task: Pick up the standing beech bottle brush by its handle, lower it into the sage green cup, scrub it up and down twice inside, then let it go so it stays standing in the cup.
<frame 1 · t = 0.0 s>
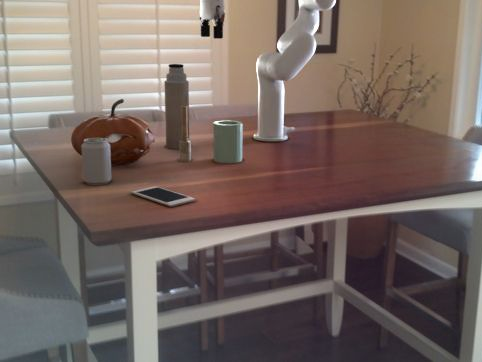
hand: (211, 37, 225), 37 cm above the table, tool pointing down, fingers open, 9 cm apart
cell phone: (162, 198, 170), on the table
can: (97, 183, 182), on the table
sage green cup: (227, 160, 212), on the table
brush: (185, 160, 211), on the table
pumpkin: (114, 161, 207), on the table
thermos bottle: (177, 146, 230), on the table
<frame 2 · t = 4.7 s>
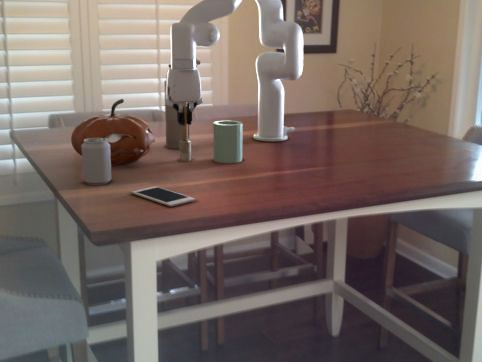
hand: (184, 123, 208), 12 cm above the table, tool pointing down, fingers closed on brush
brush: (185, 160, 211), on the table, touching gripper
everything else where it was.
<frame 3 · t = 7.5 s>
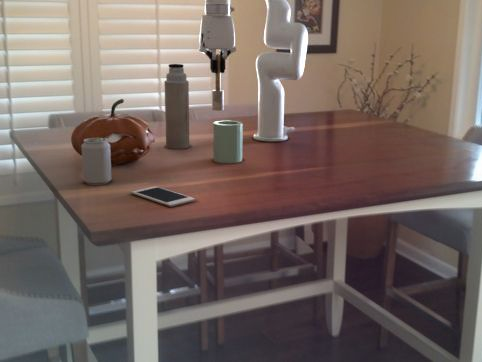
hand: (217, 72, 204), 28 cm above the table, tool pointing down, fingers closed on brush
brush: (218, 109, 207), point 16 cm above the table, touching gripper
everything else where it was.
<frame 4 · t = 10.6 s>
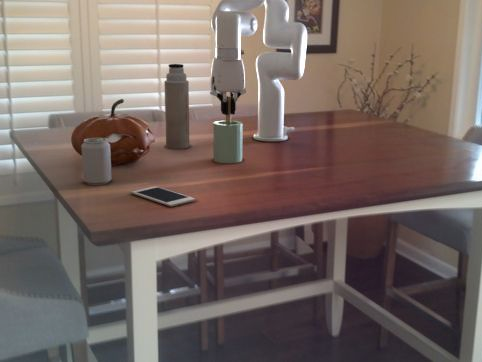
hand: (228, 113, 208), 15 cm above the table, tool pointing down, fingers closed on brush
brush: (228, 149, 211), point 3 cm above the table, touching gripper
everything else where it was.
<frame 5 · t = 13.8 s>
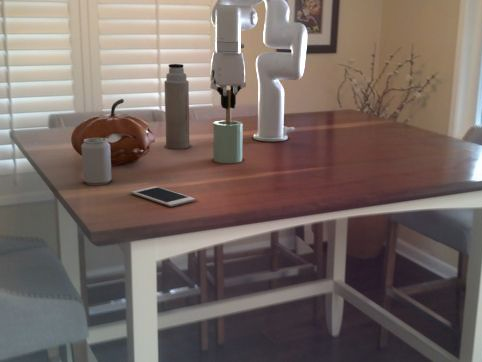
hand: (228, 107, 208), 17 cm above the table, tool pointing down, fingers closed on brush
brush: (228, 143, 211), point 5 cm above the table, touching gripper
everything else where it was.
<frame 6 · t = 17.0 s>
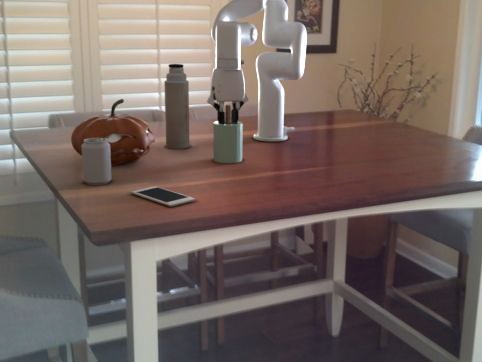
hand: (228, 122, 209), 12 cm above the table, tool pointing down, fingers open, 3 cm apart
brush: (227, 158, 212), point 1 cm above the table, touching sage green cup
everything else where it was.
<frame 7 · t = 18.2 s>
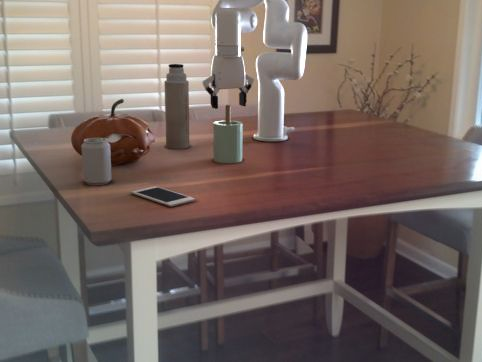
hand: (228, 106, 208), 17 cm above the table, tool pointing down, fingers open, 9 cm apart
nothing on the table moved.
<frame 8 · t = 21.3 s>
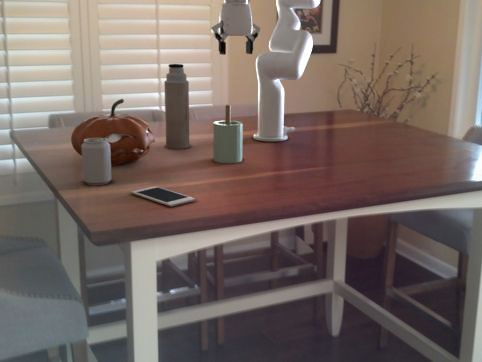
hand: (236, 54, 216), 32 cm above the table, tool pointing down, fingers open, 9 cm apart
nothing on the table moved.
at the end: brush 0.1 cm off-centre in the sage green cup, point 0.6 cm above the sage green cup's base; the gripper is holding nothing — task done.
